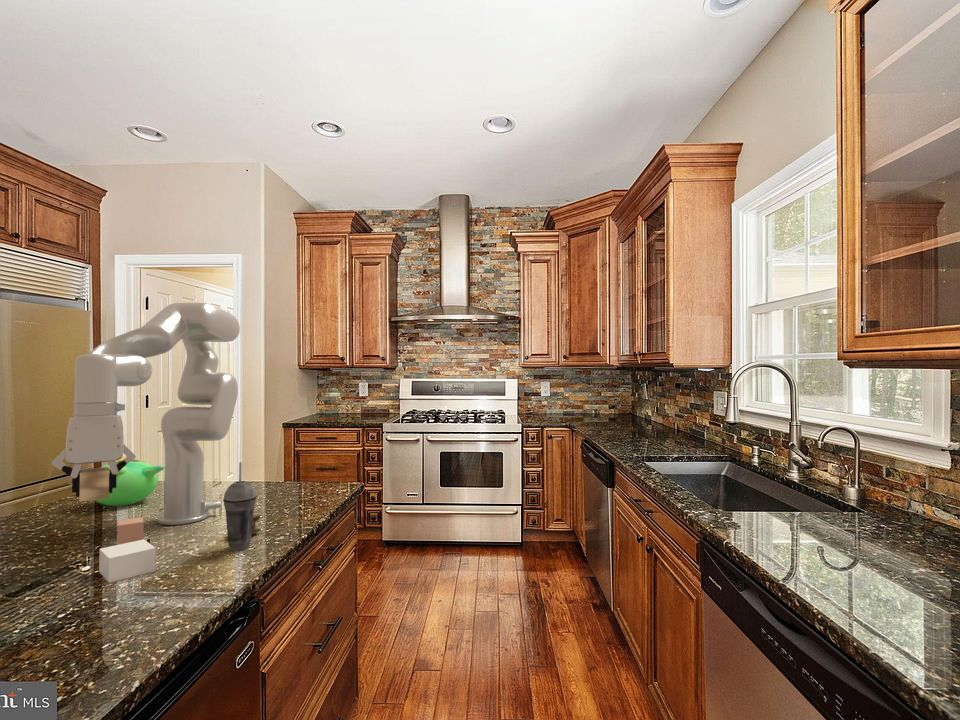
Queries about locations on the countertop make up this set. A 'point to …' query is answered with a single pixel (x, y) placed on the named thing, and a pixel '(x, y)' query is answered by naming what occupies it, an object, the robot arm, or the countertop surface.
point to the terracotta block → (129, 530)
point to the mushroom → (255, 519)
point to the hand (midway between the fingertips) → (94, 492)
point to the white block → (126, 560)
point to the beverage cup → (239, 512)
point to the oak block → (94, 484)
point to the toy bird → (132, 483)
